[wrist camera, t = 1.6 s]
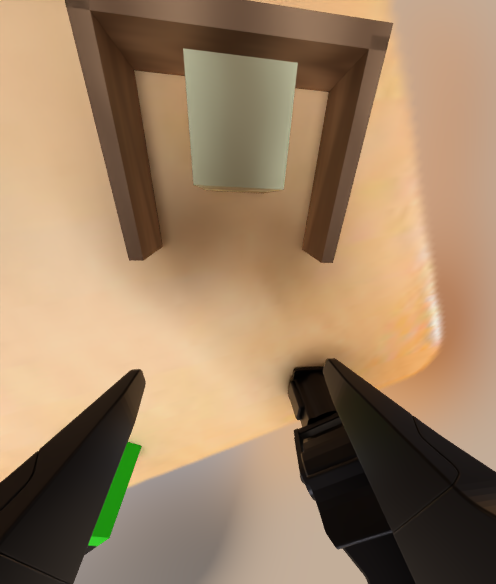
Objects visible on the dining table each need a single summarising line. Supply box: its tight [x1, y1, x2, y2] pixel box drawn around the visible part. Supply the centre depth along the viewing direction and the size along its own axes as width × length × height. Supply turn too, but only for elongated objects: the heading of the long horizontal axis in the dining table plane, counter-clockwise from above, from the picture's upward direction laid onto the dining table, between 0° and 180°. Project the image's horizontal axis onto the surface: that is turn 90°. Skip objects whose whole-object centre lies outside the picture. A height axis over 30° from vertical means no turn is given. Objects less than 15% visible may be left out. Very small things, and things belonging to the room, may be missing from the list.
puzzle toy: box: [84, 442, 141, 555], centre depth 28 cm, size 10×10×10 cm
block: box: [183, 48, 298, 193], centre depth 12 cm, size 5×5×7 cm
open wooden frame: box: [65, 0, 393, 263], centre depth 14 cm, size 16×13×4 cm
